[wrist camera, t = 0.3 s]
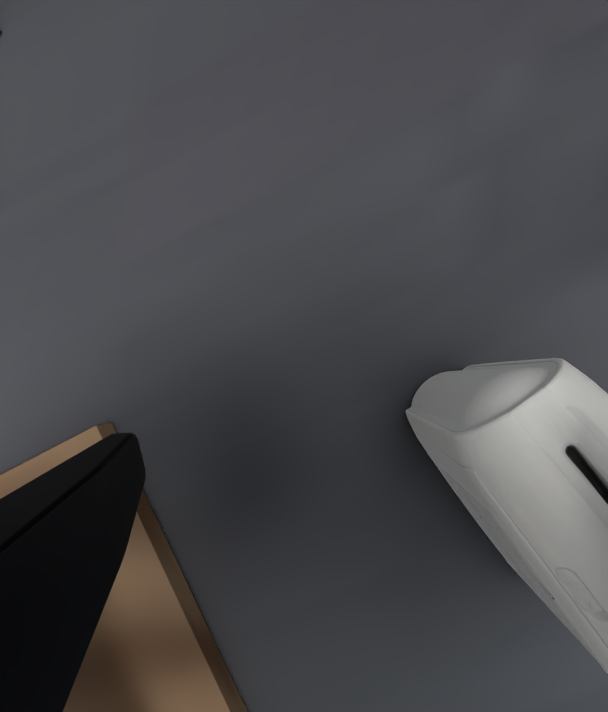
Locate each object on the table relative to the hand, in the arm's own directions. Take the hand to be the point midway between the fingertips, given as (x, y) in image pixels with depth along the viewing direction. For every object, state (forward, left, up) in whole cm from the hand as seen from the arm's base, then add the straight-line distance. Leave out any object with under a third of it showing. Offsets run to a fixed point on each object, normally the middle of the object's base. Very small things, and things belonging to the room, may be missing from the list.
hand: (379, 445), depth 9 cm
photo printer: (-5, -4, -14) cm, 16 cm away
